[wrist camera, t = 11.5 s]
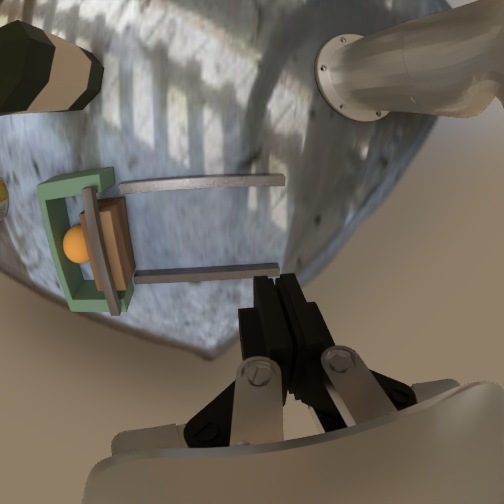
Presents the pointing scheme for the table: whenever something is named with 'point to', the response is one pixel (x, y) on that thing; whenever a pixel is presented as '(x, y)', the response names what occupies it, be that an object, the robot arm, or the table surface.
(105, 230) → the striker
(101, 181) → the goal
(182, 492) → the robot arm
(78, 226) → the ball
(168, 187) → the track
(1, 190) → the canned food
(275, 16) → the table surface
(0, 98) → the wine bottle
